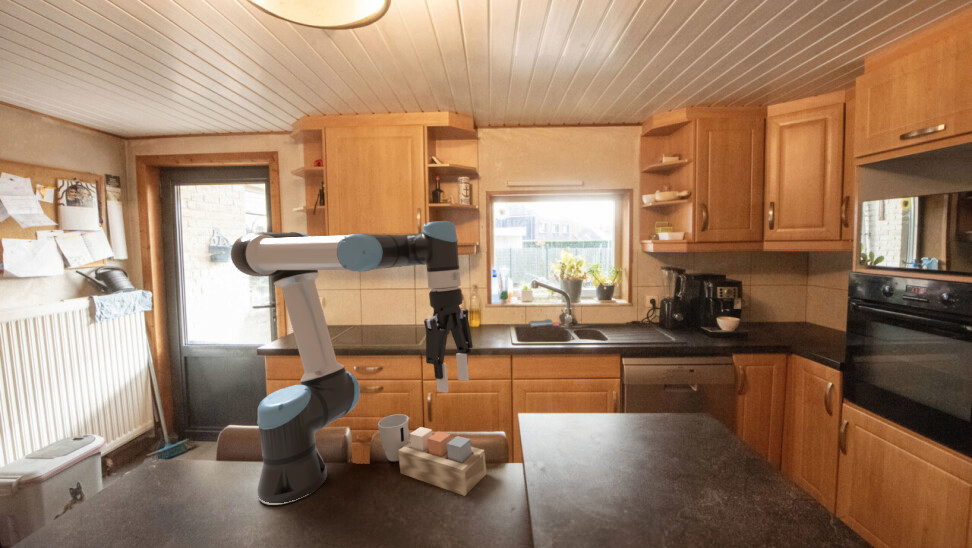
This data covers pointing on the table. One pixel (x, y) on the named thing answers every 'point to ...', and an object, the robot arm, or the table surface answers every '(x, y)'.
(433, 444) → the key terracotta
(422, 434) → the key white
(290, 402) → the robot arm
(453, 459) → the key blue
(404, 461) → the wooden box
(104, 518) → the table surface
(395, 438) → the cup
